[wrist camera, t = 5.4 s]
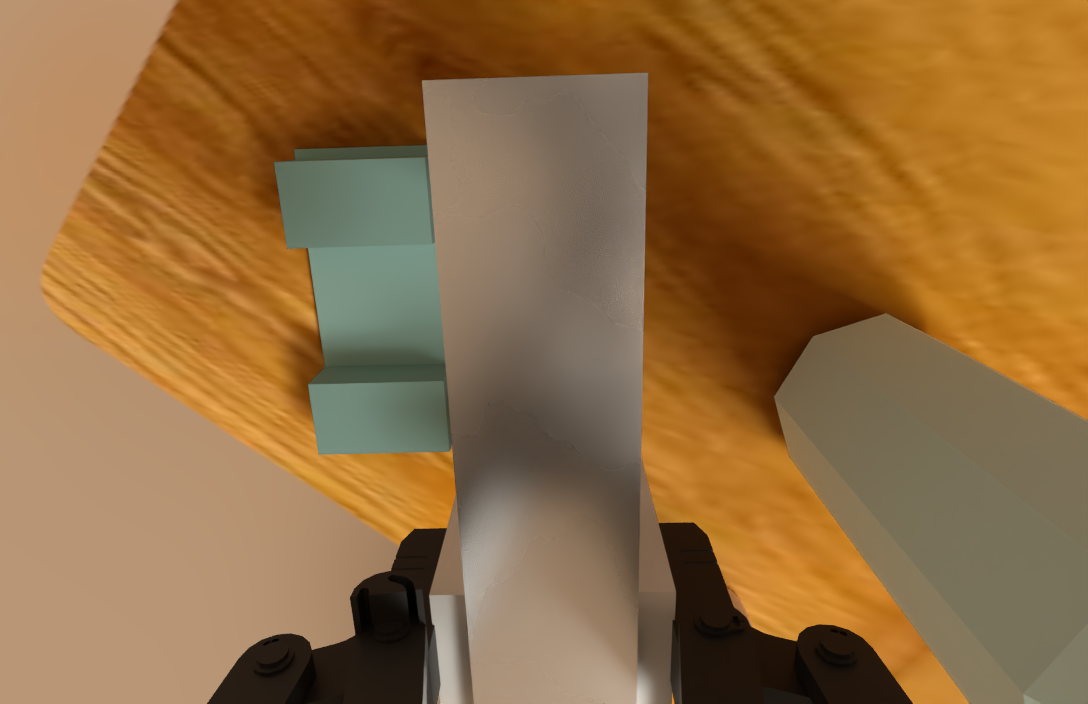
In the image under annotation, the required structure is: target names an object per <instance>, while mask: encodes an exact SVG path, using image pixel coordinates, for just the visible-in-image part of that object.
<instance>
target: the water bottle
mask: <svg viewBox="0 0 1088 704" xmlns="http://www.w3.org/2000/svg"><path fill="white" fill-rule="evenodd" d="M774 399H775V403H776V407H777V411H778V414H779V418H780V422H781V426H782V430H783V434H784V438H785V442H786V446H787V449H788V453H789V457H790V458H791V460H792V461H793V463H794V464H795V465H796V467H797V468H798V469H799V471H800V472H801V473H802V475H803V476H804V478H805V479H806V480H807V482H808V483H809V484H810V486H811V487H812V489H813V490H814V491H815V493H816V494H817V495H818V497H819V498H820V499H821V501H822V502H823V504H824V505H825V506H826V508H827V509H828V510H829V512H830V513H831V515H832V516H833V517H834V519H835V520H836V521H837V523H838V524H839V525H840V527H841V528H842V530H843V531H844V532H845V534H846V535H847V536H848V538H849V539H850V540H851V542H852V543H853V545H854V546H855V547H856V549H857V550H858V551H859V553H860V554H861V556H862V557H863V558H864V560H865V561H866V562H867V564H868V565H869V566H870V568H871V569H872V571H873V572H874V573H875V575H876V576H877V577H878V579H879V580H880V581H881V583H882V584H883V586H884V587H885V588H886V590H887V591H888V592H889V594H890V595H891V597H892V598H893V599H894V601H895V602H896V603H897V605H898V606H899V607H900V609H901V610H902V612H903V613H904V614H905V616H906V617H907V618H908V620H909V621H910V622H911V624H912V625H913V627H914V628H915V629H916V631H917V632H918V633H919V635H920V636H921V638H922V639H923V640H924V642H925V643H926V644H927V646H928V647H929V648H930V650H931V651H932V653H933V654H934V655H935V657H936V658H937V659H938V661H939V662H940V663H941V665H942V666H943V668H944V669H945V670H946V672H947V673H948V674H949V676H950V677H951V679H952V680H953V681H954V683H955V684H956V685H957V687H958V688H959V689H960V691H961V692H962V694H963V695H964V696H965V698H966V699H967V700H968V702H969V703H970V704H1088V420H1087V419H1085V418H1083V417H1081V416H1079V415H1078V414H1076V413H1074V412H1072V411H1070V410H1068V409H1066V408H1065V407H1063V406H1061V405H1059V404H1057V403H1055V402H1053V401H1052V400H1050V399H1048V398H1046V397H1044V396H1042V395H1040V394H1039V393H1037V392H1035V391H1033V390H1031V389H1029V388H1027V387H1026V386H1024V385H1022V384H1020V383H1018V382H1016V381H1014V380H1013V379H1011V378H1009V377H1007V376H1005V375H1003V374H1001V373H1000V372H998V371H996V370H994V369H992V368H990V367H988V366H987V365H985V364H983V363H981V362H979V361H977V360H975V359H973V358H972V357H970V356H968V355H966V354H964V353H962V352H960V351H959V350H957V349H955V348H953V347H951V346H949V345H947V344H946V343H944V342H942V341H940V340H938V339H936V338H934V337H932V336H930V335H928V334H926V333H924V332H922V331H920V330H918V329H916V328H914V327H912V326H910V325H908V324H906V323H904V322H902V321H900V320H898V319H896V318H894V317H892V316H890V315H889V314H887V313H885V314H882V315H879V316H876V317H873V318H869V319H866V320H863V321H860V322H857V323H854V324H850V325H847V326H844V327H841V328H838V329H834V330H831V331H828V332H825V333H822V334H818V335H815V336H813V337H812V339H811V340H810V342H809V343H808V345H807V346H806V348H805V349H804V351H803V353H802V354H801V356H800V357H799V359H798V360H797V362H796V363H795V365H794V367H793V368H792V370H791V371H790V373H789V374H788V376H787V377H786V379H785V381H784V382H783V384H782V385H781V387H780V388H779V390H778V391H777V393H776V395H775V396H774Z"/></svg>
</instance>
